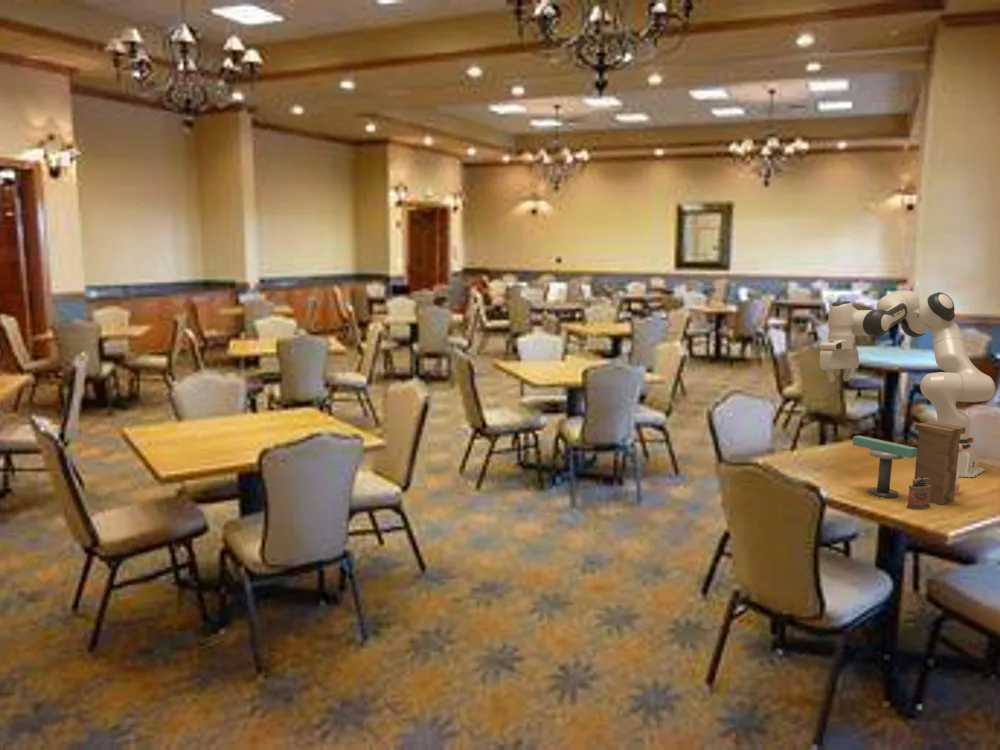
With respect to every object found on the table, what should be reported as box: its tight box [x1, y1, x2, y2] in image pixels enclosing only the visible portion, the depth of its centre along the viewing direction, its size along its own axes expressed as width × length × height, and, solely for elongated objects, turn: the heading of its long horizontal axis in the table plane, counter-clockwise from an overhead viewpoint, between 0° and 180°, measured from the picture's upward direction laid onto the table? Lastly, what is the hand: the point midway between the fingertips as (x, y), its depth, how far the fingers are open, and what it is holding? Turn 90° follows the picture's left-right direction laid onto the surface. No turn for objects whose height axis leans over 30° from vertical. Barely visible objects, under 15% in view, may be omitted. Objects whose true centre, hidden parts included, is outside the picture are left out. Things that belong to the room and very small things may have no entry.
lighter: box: [906, 478, 931, 510], centre depth 281 cm, size 8×3×10 cm, turn 105°
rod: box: [852, 435, 917, 459], centre depth 294 cm, size 4×22×3 cm, turn 34°
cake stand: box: [867, 448, 904, 499], centre depth 295 cm, size 11×11×16 cm
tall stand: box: [914, 420, 966, 506], centre depth 288 cm, size 10×12×26 cm
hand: (839, 381), depth 317 cm, fingers open, 8 cm apart
